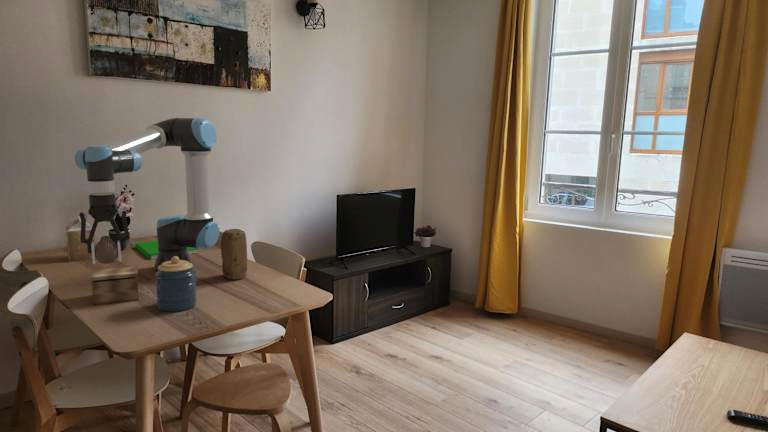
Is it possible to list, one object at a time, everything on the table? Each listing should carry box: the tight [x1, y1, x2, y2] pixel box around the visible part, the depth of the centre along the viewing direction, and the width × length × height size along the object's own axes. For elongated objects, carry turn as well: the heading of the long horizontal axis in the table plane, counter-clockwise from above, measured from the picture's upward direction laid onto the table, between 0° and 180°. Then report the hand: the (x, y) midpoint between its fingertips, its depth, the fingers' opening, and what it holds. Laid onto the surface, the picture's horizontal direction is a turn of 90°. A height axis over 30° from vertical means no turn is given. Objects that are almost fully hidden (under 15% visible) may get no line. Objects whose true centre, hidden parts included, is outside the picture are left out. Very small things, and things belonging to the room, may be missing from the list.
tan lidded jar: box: [65, 216, 96, 263], centre depth 231 cm, size 11×11×19 cm
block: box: [220, 228, 248, 281], centre depth 208 cm, size 11×8×20 cm
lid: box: [90, 266, 139, 282], centre depth 180 cm, size 14×12×1 cm
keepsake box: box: [91, 276, 140, 306], centre depth 181 cm, size 14×12×8 cm
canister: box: [154, 256, 198, 313], centre depth 173 cm, size 13×13×18 cm
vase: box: [95, 235, 119, 265], centre depth 168 cm, size 7×7×9 cm
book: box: [134, 240, 199, 261], centre depth 251 cm, size 22×28×3 cm
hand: (107, 261), depth 168 cm, fingers closed on vase, 7 cm apart
